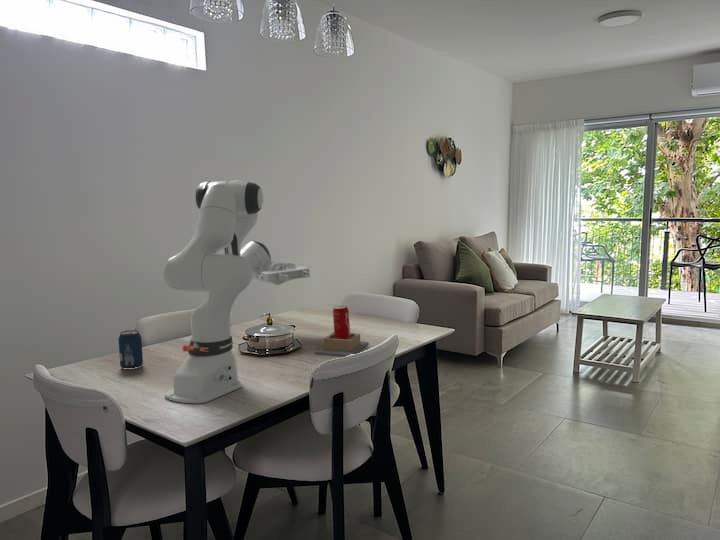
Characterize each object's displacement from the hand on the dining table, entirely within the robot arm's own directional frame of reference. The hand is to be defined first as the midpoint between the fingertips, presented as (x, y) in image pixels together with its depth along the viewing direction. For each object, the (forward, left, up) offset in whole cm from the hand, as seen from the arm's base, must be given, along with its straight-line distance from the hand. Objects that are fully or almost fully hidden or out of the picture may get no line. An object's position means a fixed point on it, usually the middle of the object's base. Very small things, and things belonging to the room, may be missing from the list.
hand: (298, 276), depth 200 cm
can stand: (-3, -18, -26) cm, 32 cm away
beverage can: (-3, -18, -25) cm, 31 cm away
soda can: (-44, +41, -26) cm, 65 cm away
